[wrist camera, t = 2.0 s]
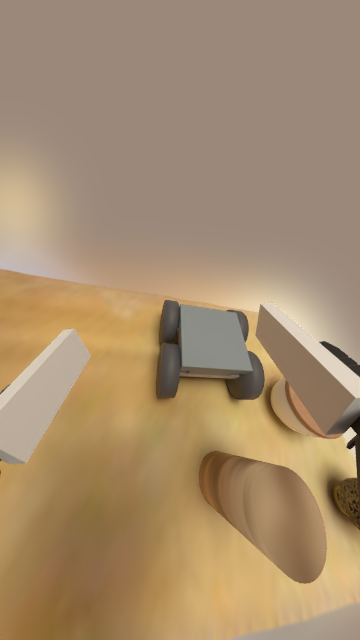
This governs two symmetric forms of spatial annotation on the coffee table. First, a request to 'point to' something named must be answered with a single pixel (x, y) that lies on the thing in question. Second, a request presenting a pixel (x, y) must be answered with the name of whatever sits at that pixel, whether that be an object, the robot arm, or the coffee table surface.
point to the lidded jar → (294, 411)
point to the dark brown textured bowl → (348, 499)
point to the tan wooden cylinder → (268, 511)
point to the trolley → (206, 350)
